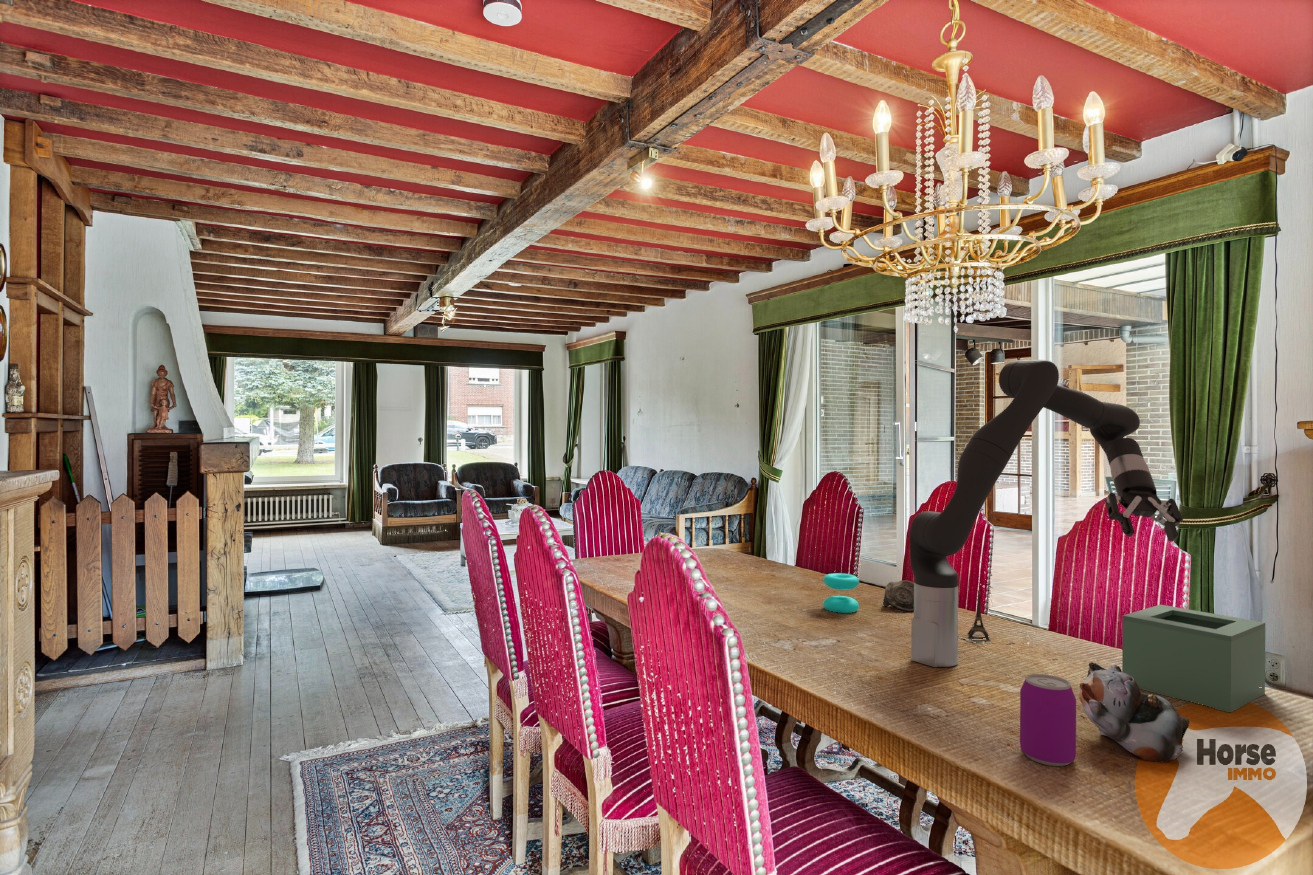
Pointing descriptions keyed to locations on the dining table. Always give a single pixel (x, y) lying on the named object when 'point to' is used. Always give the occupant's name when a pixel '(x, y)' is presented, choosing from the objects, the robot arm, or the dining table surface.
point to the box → (1195, 656)
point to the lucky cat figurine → (1132, 714)
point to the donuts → (841, 602)
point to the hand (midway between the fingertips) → (1151, 537)
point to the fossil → (900, 595)
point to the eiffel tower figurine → (978, 628)
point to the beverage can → (1048, 720)
